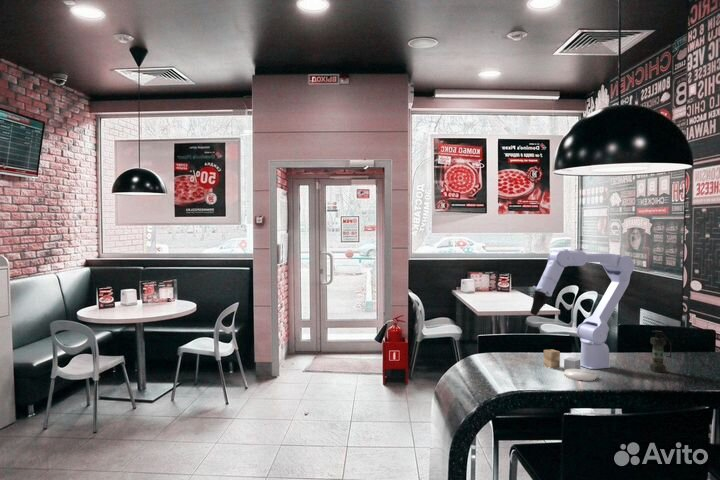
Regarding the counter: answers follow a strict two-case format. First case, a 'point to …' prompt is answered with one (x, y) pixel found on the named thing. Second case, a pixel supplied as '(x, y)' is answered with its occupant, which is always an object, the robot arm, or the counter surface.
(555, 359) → the oak block
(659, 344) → the grenade
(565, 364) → the grey block
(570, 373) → the coaster
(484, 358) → the counter surface
